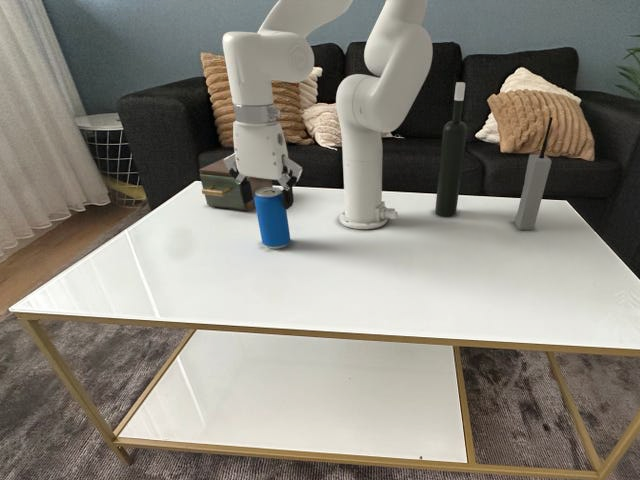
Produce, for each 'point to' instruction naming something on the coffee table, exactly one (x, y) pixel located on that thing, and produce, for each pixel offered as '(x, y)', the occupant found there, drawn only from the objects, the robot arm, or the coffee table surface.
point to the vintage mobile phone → (533, 187)
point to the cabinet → (221, 169)
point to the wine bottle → (451, 158)
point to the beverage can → (272, 217)
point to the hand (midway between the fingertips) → (268, 204)
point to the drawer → (221, 191)
